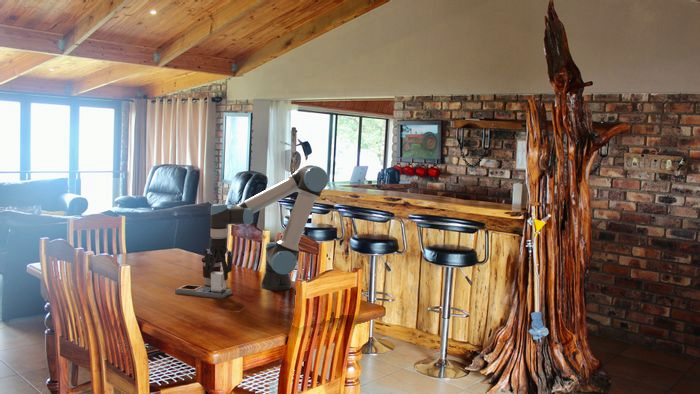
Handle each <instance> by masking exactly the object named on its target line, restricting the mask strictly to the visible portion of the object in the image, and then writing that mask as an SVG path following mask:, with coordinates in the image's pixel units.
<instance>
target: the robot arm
mask: <svg viewBox="0 0 700 394" xmlns="http://www.w3.org/2000/svg"><path fill="white" fill-rule="evenodd" d="M328 183H329V175H328V173H327V172H326V170H325V169H323V168H322V167H320V166H318V165H311V164H310V165H306V166H302V168H300V169H298V170H297V171H295V172H294V173H291V174H289V175H288V178H286V179H284V180H282V181H280V182H278V183H277V184H274V185H273V186H270V187H269V188H267V189H265V190H263V191H260V192H259V193H257V194H255V195H254V196H251V197H250V198H247V199H246V200H244V201H241V202H240V203H237V204H233V205H232V206H230V208H229V207H228V205H227V204H225V203H214V204H211V205H210V235H209V236H210V242H209V243H210V247H209V249H208V248H207V249H204V257H205V255H206V257H205V270H206V271H209V279H211V274H212V273H214V272H213V271H214V267H215V263H216V259H217V257H220V260H221V267H222V272H224V273H223V274H222V288H224V287H226V288H227V281H228V279H229V273H231V272H232V271H233V263H232V261H233V259H232V258H233V253H234V251H233V250H229V249H228V247H227V246H228V238H227V237H228V225H251V224H253V223H254V214H255V213H257V212H260V211H261V210H263V209H265V208H267V207H269V206H270V205H272V204H274V203H277V202H278V201H280V200H282V199H284V198H286V197H287V196H290V195H291V194H293V193H298V194H297V197H296V200H295V202H294V205H293V207H292V210H291V213H290V214H289V218H288V220H287V222H286V225H285V227H284V231H283V233H282V236H281V238H280V240H277V241H276V242H274V241H273V242H271V241H270V242H267V243H266V245H265V246H266V247H265V273H264V275H263V278H262V280H261V284H260V285H261V287H260V288H261V289H263V290H269V291H274V292H276V291H277V292H278V291H280V292H281V291H289V290H291V289H292V285H293V284H292V280H291V276H290V273H292V272H293V271H294V270H295V268H296V267H297V262H298V261H297V258H298V254H299V252H300V249H299V243H300V241H301V238H302V236H303V234H304V231H305V227H306V226H307V222H308V220H309V217H310V215H311V212H312V209H313V207H314V204H315V202H316V200H317V199H319V198H321V195H322V192H323V191H324V189H325V188H326V187H327V185H328ZM210 254H212V260H211V264H210ZM226 255H227V256H226Z"/></svg>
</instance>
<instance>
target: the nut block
mask: <svg viewBox="0 0 700 394" xmlns="http://www.w3.org/2000/svg"><path fill="white" fill-rule="evenodd" d="M223 273H224V272H223V271H220V272H214V273H212V274H211V285H210V287H211V292H213V293H223V292H225V291H226V289H227V286H226V287H224V288H222V274H223Z"/></svg>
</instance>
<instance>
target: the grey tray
mask: <svg viewBox="0 0 700 394" xmlns="http://www.w3.org/2000/svg"><path fill="white" fill-rule="evenodd" d="M174 291H175V295H176V294H177V295H186V296H193V297H194V296H195V297H200V298H201V297H203V298H210V299H219V300H222V299H224V298H227V297H229V296H230V295H232V294H233V289H230V288H226V291H225V292H223V293H213V292H211V286H203V285H195V284H184V285H182V286H180V287H177V288H175V290H174Z"/></svg>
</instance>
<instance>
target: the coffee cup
mask: <svg viewBox="0 0 700 394" xmlns="http://www.w3.org/2000/svg"><path fill="white" fill-rule="evenodd" d="M205 257H206V255H205V254H204V257H202V258H201V262H202V277H203V284H204V285H205V286H211V279H209V271H206V270H205ZM211 260H212V253H210V264H211ZM221 267H222V263H221V260H220V257H217V259H216V263H215V267H214V271H213V272H221Z"/></svg>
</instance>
